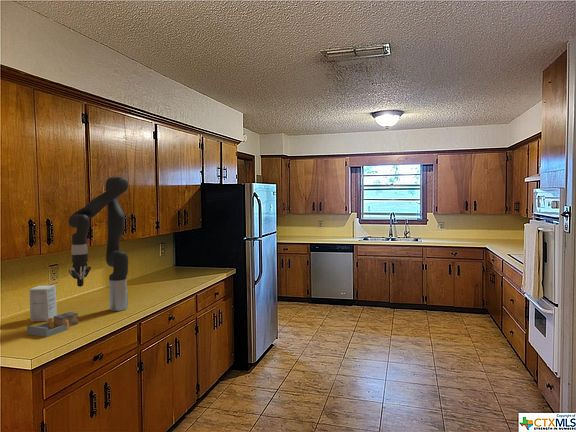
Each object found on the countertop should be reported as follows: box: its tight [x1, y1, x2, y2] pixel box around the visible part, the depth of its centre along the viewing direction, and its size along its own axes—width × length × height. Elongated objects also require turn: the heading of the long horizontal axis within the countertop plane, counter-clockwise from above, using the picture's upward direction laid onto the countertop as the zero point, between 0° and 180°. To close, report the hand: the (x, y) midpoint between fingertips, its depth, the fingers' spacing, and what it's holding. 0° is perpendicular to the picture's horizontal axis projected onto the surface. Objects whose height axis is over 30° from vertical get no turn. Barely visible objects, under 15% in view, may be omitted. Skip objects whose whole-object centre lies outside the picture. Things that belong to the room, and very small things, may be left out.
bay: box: [26, 318, 70, 338], centre depth 202 cm, size 12×12×4 cm
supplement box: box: [28, 285, 58, 322], centre depth 223 cm, size 10×9×17 cm
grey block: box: [53, 311, 79, 329], centre depth 211 cm, size 9×6×6 cm, turn 158°
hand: (80, 286), depth 220 cm, fingers closed
